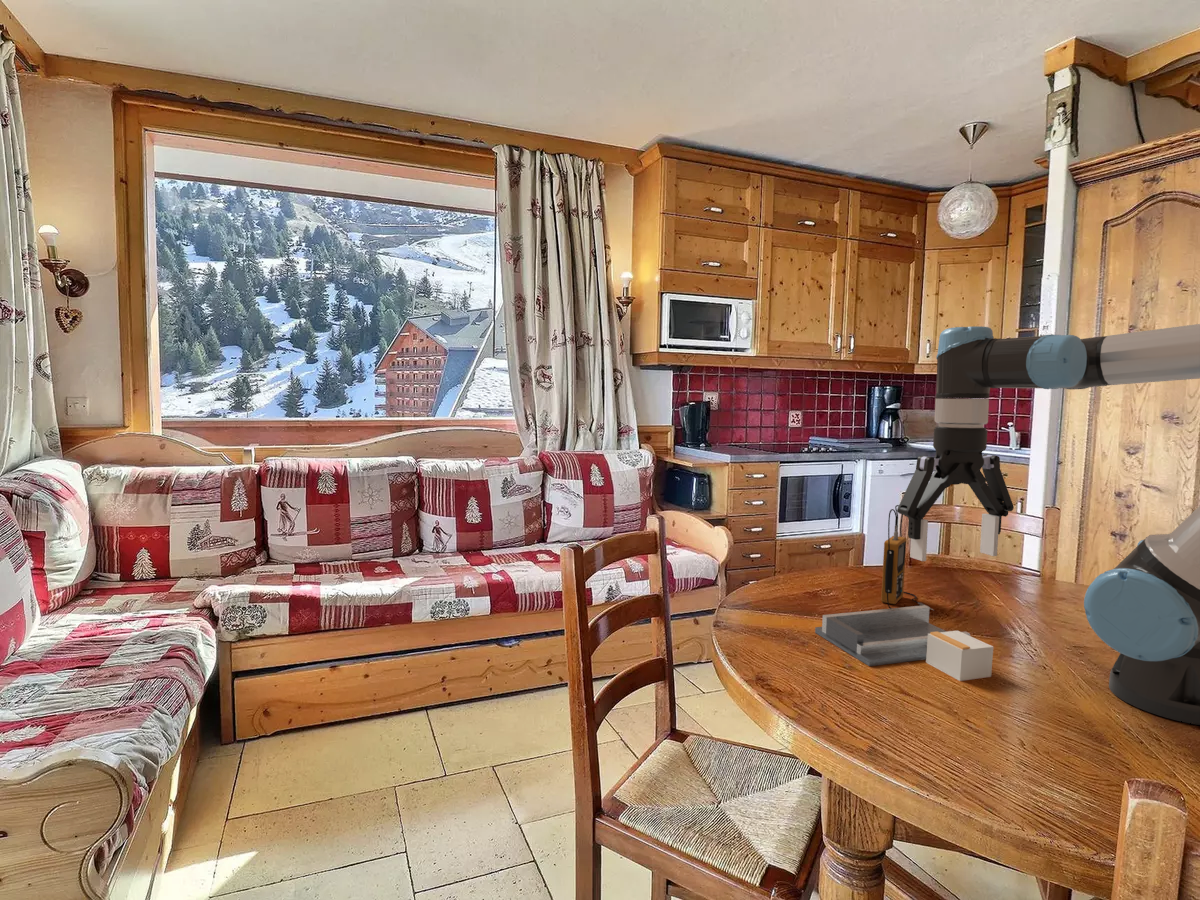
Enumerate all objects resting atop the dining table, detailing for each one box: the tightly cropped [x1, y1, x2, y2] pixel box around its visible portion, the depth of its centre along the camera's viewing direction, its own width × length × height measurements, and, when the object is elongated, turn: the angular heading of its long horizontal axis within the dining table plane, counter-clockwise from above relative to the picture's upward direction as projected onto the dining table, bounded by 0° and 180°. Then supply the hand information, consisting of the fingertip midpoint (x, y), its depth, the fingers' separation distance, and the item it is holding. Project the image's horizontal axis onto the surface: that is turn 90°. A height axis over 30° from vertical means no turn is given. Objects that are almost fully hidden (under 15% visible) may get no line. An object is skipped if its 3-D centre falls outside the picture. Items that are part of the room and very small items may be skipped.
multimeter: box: [880, 504, 934, 611], centre depth 138 cm, size 15×10×20 cm
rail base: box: [814, 604, 971, 667], centre depth 117 cm, size 15×22×4 cm
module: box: [925, 630, 994, 682], centre depth 106 cm, size 7×6×5 cm
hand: (953, 556), depth 108 cm, fingers open, 13 cm apart
